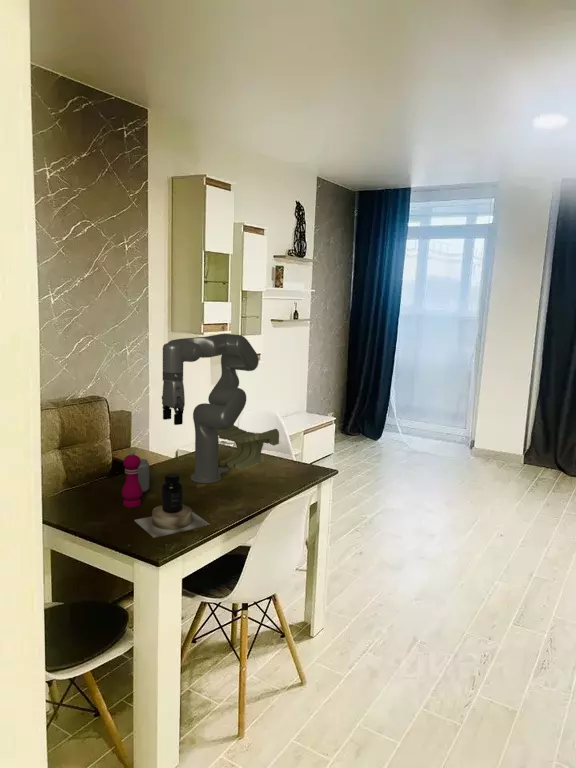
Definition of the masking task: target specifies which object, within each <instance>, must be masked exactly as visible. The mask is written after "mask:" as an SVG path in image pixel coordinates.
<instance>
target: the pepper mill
mask: <svg viewBox="0 0 576 768" xmlns="http://www.w3.org/2000/svg"><path fill="white" fill-rule="evenodd" d="M140 459H141V458H140V457H139V456H138V455H135V451H134V450H130V451H129V455H127V456H125V457H124V458H123V463H122V464H123V466H124V473H125V476H126V477H125V478H126V479H125V483H124V484H123V487H122V489H121V496H122V498H123V500H122V505H123V507H125V508H138V507H139V506H141V504H142V499H141V497H142V496H143V493H142V488H141V486H140V484H139V481H138V473H139V468H138V467H139V466H140V464H141V461H140Z"/></svg>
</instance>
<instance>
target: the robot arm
mask: <svg viewBox="0 0 576 768" xmlns="http://www.w3.org/2000/svg"><path fill="white" fill-rule="evenodd" d="M218 356H221V357H220V364H221V365H220V367H221V375H220V378H219V380H218V381H217V382H216V383H215V385H214V387H213V388H212V390H211V391H210V393H209V395H208V398H207V399H208V403H199V404H197V405H196V406H195V408H194V409H193V412H192V419H193V424H194V431H195V432H194V433H195V434H194V439H195V442H194V473H192V474H191V475H190V480H191V481H192V482H195V483H198V484H213V483H217V482H220V481H221V480H222V479H223V478H222V473H228V472H229V467H223V466H220V467H219V443H220V442H219V441H220V438H219V436H218V433H217V431H216V429H220V430H228V429H230V428H231V427H232V426H233V425H234V426H235V424H236V421H237V420H238V418H239V416H240V415H241V414H242V412H243V410H244V408H245V406H246V404H247V394H246V392H245V390H244V389H242V388H239V385H240V379H239V377H238V373H237V372H236V371H245V372H253V371H255V370H257V368H258V367H259V364H260V363H259V360H260V359H259V356H258V354H257V352H256V350H255V349H254V347H253V346H252V344H251V343H250V341H249V340H248V339H247V338H246V337H245V336H244V335H242V334H241V335H240V334H234V333H233V334H232V333H231V334H230V333H219V334H214V335H207V336H197V337H186V338H178V339H177V338H176V339H171V340H170V341H168V342H166V343H164V344H163V345H162V381H163V382H162V383H163V384H162V396H161V404H162V420H163V421H164V420H165V421H166V420H171V419H172V409H173V411H174V415H173V425H174V426H178V425H179V426H181V425H184V424H183V422H184V421H183V420H184V419H183V416H184V415H183V414H184V411H185V409H184V408H185V406H186V405H185V403H186V402H185V400H186V399H185V385H184V362H187V363H193V362H197V361H198V360H200V358H203V359H206V358H207V359H208V358H214V357H218Z"/></svg>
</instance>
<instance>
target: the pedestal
mask: <svg viewBox="0 0 576 768" xmlns="http://www.w3.org/2000/svg"><path fill="white" fill-rule="evenodd" d="M151 514H152V515H151V516H147V517H142V518H138V519H134V522H135V523H136V525H138V526H140V528H142V529H143V530H144V531H145V532H146V533H148V534H149V535H150V536H151V537H152V538H153V539H154V538H160V537H164V536H167V535H172V534H177V533H182V532H186V531H191V530H196V529H199V528H203V527H204V526H205V527H208V526H207V525H209V526H210V525H211V524H210V522H208V521H206V520H205V519H203V518H202V517H200V516H199V515H198V514H196V513H195V512H194V511H193V508H192V507H191V506H189V505H187V504H183V508H182V510H181V511H180V512H177V513H166V512H164V511H163V510H162V504H161V505H158V506H156V507H155V508H153V509H152V511H151ZM205 527H204V528H205Z"/></svg>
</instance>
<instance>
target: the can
mask: <svg viewBox="0 0 576 768" xmlns="http://www.w3.org/2000/svg"><path fill="white" fill-rule="evenodd" d="M140 461H141V464H140V466H139V467H138V468H139V473H138V481H139V484H140V486H141V488H142V494H143V493H146V492H147V491H148V490H149V489H150V463H149V461H148V459H145V458H140Z"/></svg>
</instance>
